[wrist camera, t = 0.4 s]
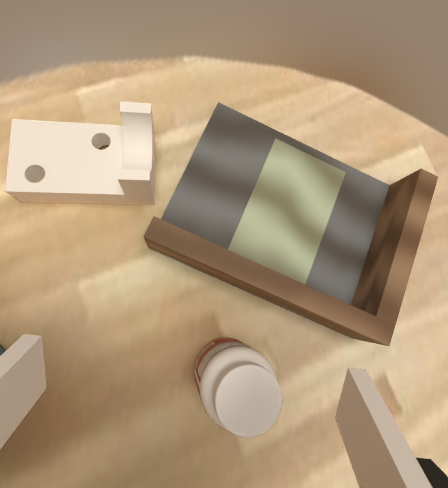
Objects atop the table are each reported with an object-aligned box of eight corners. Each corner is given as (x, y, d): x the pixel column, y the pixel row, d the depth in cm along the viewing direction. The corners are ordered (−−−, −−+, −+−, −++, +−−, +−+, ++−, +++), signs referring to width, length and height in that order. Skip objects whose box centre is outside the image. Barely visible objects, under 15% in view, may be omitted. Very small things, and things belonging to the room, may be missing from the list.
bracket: (155, 144, 36) (151, 103, 29) (154, 205, 35) (149, 180, 27) (28, 137, 34) (-12, 92, 27) (22, 202, 33) (-21, 174, 25)
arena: (353, 338, 35) (389, 346, 29) (148, 247, 34) (143, 236, 28) (398, 195, 39) (438, 176, 33) (217, 107, 38) (225, 71, 32)
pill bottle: (254, 400, 33) (294, 449, 22) (193, 402, 32) (203, 455, 21) (253, 336, 34) (291, 352, 23) (194, 336, 33) (204, 354, 22)
